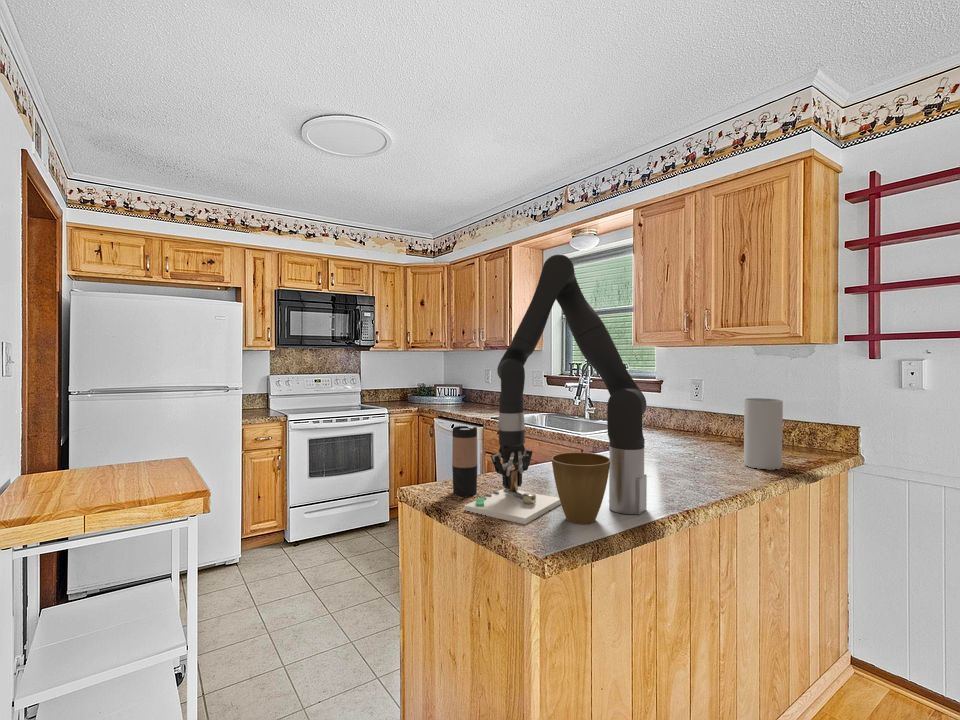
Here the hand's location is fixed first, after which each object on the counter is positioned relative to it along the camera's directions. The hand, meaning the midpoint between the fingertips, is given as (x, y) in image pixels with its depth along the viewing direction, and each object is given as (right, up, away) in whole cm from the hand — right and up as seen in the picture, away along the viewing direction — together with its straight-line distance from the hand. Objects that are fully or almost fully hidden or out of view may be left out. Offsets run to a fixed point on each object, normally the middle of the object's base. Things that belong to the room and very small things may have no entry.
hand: (512, 486), depth 149 cm
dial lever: (+2, -2, -3) cm, 4 cm away
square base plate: (0, -4, -6) cm, 7 cm away
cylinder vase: (+96, -3, +43) cm, 105 cm away
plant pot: (+16, -5, -16) cm, 24 cm away
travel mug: (-14, -4, +8) cm, 17 cm away
